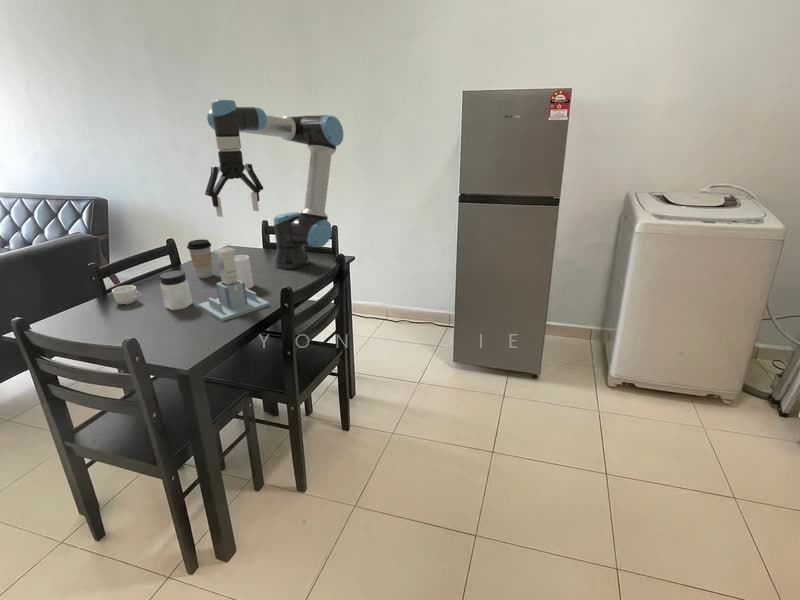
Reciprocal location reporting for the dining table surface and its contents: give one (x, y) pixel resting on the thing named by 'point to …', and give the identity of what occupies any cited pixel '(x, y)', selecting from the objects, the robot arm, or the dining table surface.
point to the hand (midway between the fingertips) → (238, 213)
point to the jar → (175, 290)
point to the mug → (244, 270)
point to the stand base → (232, 302)
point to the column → (227, 266)
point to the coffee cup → (201, 257)
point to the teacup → (125, 294)
